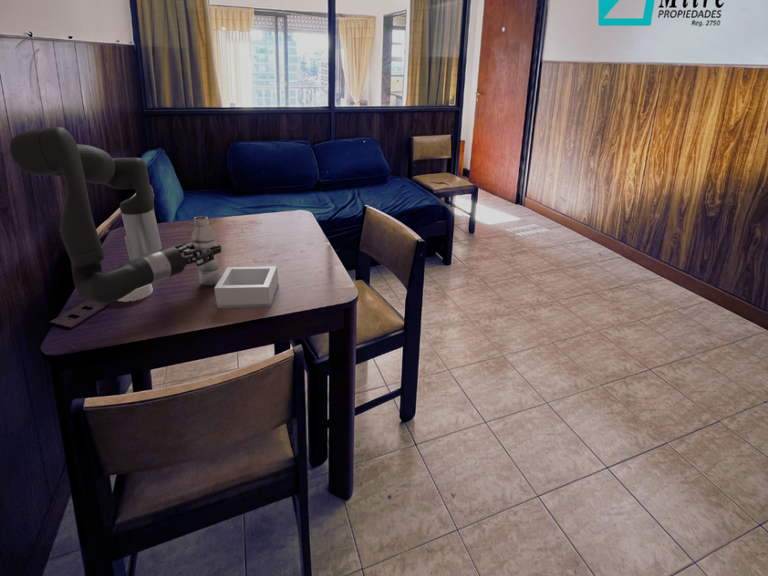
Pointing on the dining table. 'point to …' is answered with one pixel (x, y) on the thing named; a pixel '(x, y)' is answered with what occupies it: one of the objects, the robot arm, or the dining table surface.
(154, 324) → the dining table surface
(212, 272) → the plastic bottle
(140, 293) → the coaster
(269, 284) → the bin
